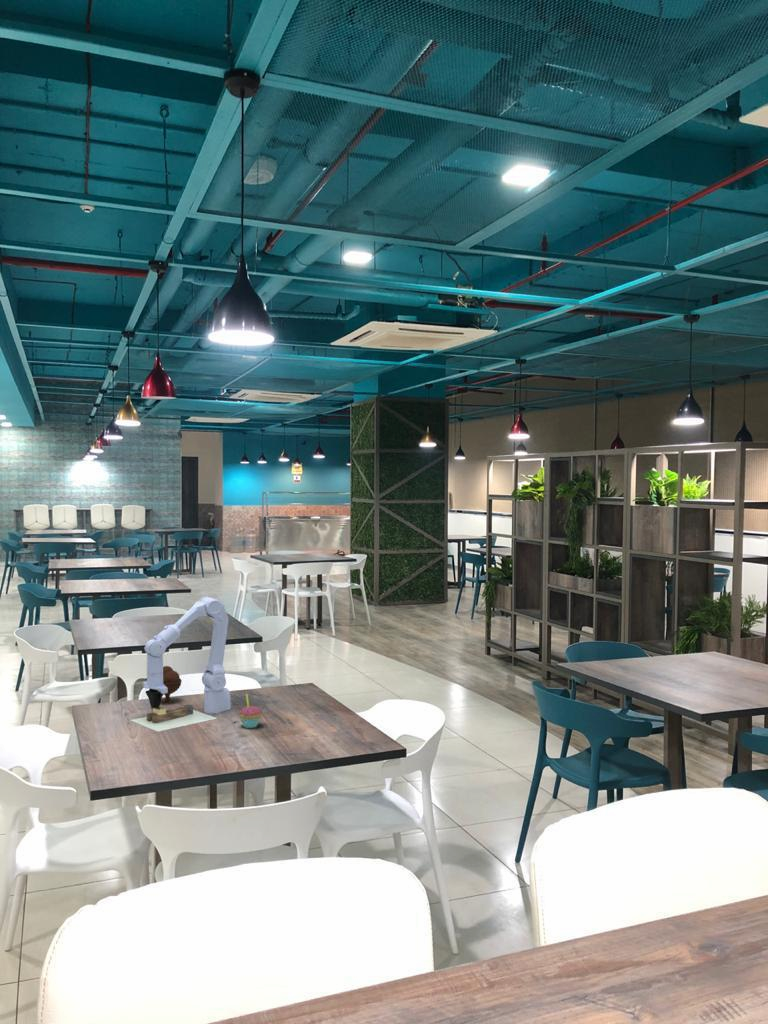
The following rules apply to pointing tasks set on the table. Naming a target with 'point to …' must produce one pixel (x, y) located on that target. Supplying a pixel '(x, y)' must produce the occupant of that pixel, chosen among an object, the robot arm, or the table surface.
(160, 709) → the pale yellow rectangular block
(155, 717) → the tong jaw
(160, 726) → the serving board
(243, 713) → the cupcake
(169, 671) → the ice cream bowl
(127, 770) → the table surface
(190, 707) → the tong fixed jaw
